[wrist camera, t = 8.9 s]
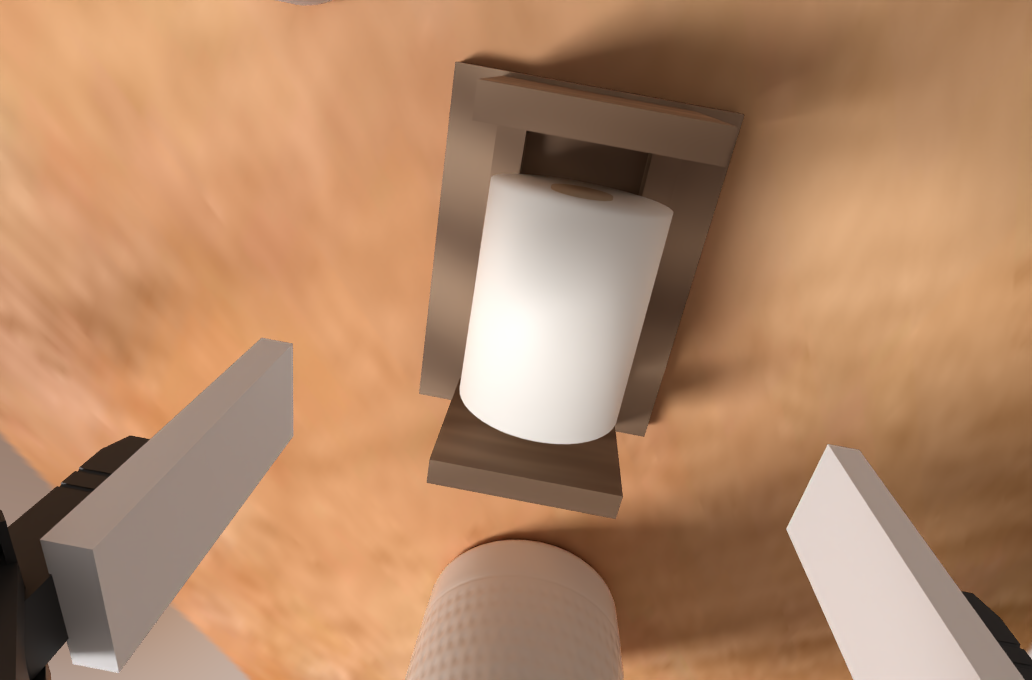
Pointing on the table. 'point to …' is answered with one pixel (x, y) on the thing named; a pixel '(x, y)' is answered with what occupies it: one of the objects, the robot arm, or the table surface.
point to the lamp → (518, 618)
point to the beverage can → (305, 2)
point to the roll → (559, 305)
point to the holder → (586, 158)
